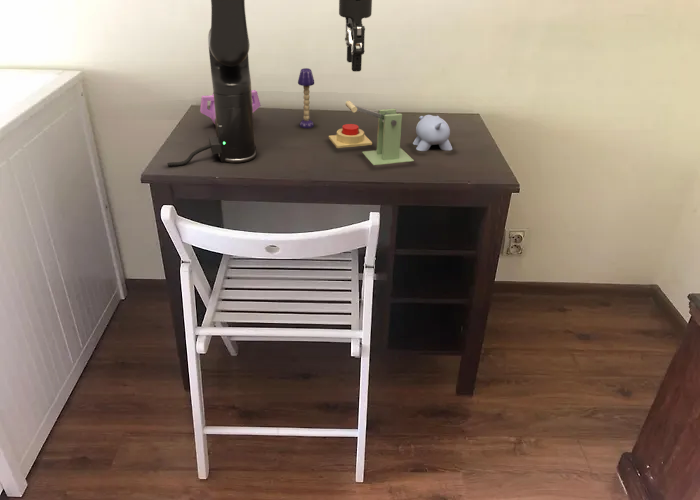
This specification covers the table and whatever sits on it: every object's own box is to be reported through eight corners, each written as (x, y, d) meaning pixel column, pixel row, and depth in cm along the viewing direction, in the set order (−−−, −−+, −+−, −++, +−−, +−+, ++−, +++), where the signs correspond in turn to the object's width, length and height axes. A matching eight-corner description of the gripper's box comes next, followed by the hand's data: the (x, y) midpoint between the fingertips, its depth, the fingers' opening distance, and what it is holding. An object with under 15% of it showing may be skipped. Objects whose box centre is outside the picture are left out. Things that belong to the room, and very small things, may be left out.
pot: (194, 121, 177) (190, 81, 171) (250, 113, 184) (248, 75, 178) (211, 141, 164) (207, 99, 158) (271, 132, 171) (269, 91, 165)
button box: (336, 151, 159) (337, 138, 158) (328, 141, 166) (328, 128, 164) (372, 148, 162) (372, 135, 160) (362, 138, 169) (363, 125, 167)
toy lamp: (317, 127, 175) (317, 70, 166) (303, 130, 173) (303, 72, 164) (309, 122, 178) (308, 66, 170) (295, 125, 176) (294, 68, 168)
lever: (350, 113, 143) (353, 104, 142) (343, 107, 147) (347, 98, 146) (396, 128, 148) (400, 119, 148) (389, 122, 153) (392, 113, 152)
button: (345, 136, 160) (345, 129, 159) (340, 131, 164) (340, 124, 163) (360, 135, 161) (360, 128, 160) (355, 130, 165) (355, 123, 164)
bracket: (373, 169, 150) (375, 119, 143) (361, 155, 157) (363, 108, 151) (413, 164, 153) (417, 116, 146) (400, 152, 160) (403, 105, 154)
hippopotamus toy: (442, 136, 171) (446, 104, 166) (457, 156, 158) (461, 121, 153) (405, 137, 170) (408, 104, 165) (417, 157, 157) (420, 122, 152)
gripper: (335, -11, 141) (334, 59, 150) (343, -1, 129) (342, 74, 138) (366, -11, 142) (364, 59, 151) (377, -1, 130) (374, 74, 139)
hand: (353, 66), depth 144 cm, fingers open, 8 cm apart
